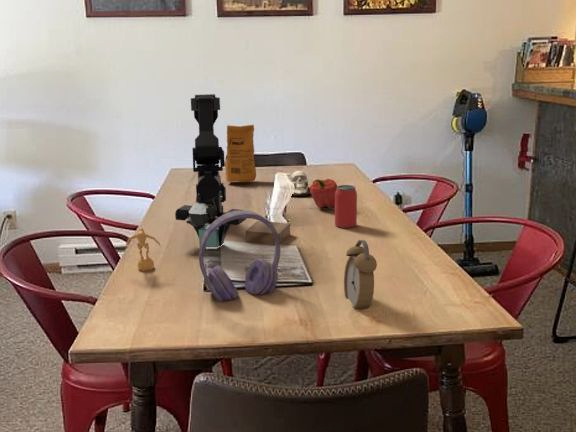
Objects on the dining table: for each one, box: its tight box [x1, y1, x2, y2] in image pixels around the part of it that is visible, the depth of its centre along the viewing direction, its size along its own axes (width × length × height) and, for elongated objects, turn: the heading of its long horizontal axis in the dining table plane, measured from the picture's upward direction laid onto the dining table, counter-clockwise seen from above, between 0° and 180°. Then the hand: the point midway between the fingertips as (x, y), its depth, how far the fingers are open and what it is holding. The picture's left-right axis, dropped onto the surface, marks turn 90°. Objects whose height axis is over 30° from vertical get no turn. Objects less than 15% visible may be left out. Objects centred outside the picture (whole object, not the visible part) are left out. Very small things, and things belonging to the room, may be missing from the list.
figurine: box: [125, 227, 161, 272], centre depth 155 cm, size 8×6×12 cm
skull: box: [289, 170, 311, 196], centre depth 233 cm, size 12×10×10 cm
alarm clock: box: [343, 239, 378, 310], centre depth 134 cm, size 11×5×15 cm, turn 11°
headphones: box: [198, 209, 281, 303], centre depth 139 cm, size 18×8×20 cm, turn 114°
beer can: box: [334, 184, 358, 229], centre depth 191 cm, size 7×7×12 cm
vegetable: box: [309, 178, 339, 209], centre depth 213 cm, size 11×10×10 cm
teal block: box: [198, 223, 225, 250], centre depth 173 cm, size 5×5×6 cm
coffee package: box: [224, 124, 257, 183], centre depth 252 cm, size 10×12×22 cm
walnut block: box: [244, 220, 291, 245], centre depth 181 cm, size 10×10×4 cm
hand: (211, 244), depth 174 cm, fingers closed on teal block, 5 cm apart
